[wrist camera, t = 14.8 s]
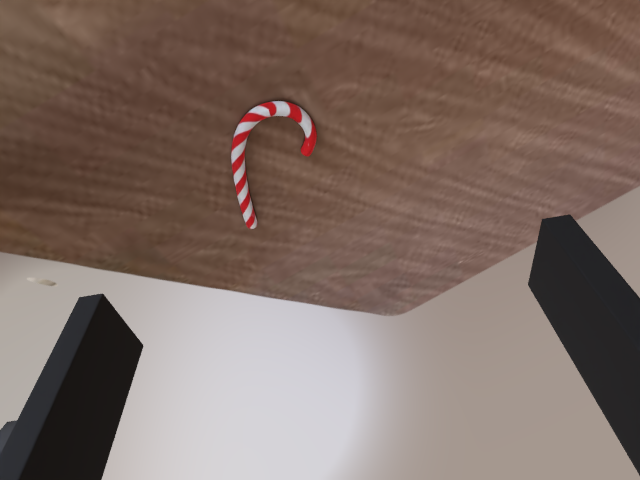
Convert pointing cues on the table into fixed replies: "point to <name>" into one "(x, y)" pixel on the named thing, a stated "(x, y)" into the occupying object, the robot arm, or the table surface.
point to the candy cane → (240, 141)
